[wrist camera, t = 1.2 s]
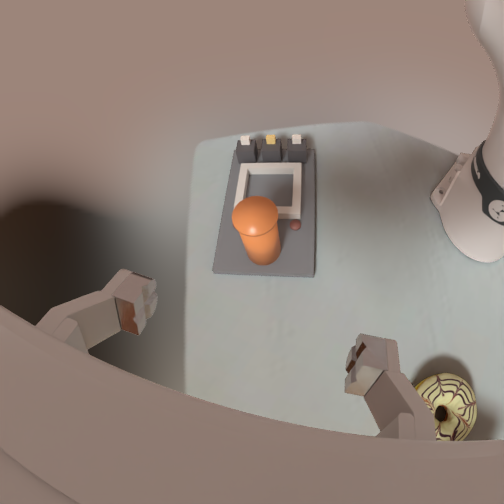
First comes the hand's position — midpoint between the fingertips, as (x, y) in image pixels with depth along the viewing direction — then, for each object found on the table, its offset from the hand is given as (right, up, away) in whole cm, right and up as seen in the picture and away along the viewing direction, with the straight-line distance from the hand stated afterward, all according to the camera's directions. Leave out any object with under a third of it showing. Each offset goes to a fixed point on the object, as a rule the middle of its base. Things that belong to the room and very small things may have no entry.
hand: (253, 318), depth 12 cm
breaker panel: (+3, +10, +37) cm, 39 cm away
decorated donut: (+24, -19, +20) cm, 36 cm away
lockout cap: (+2, +3, +33) cm, 33 cm away
